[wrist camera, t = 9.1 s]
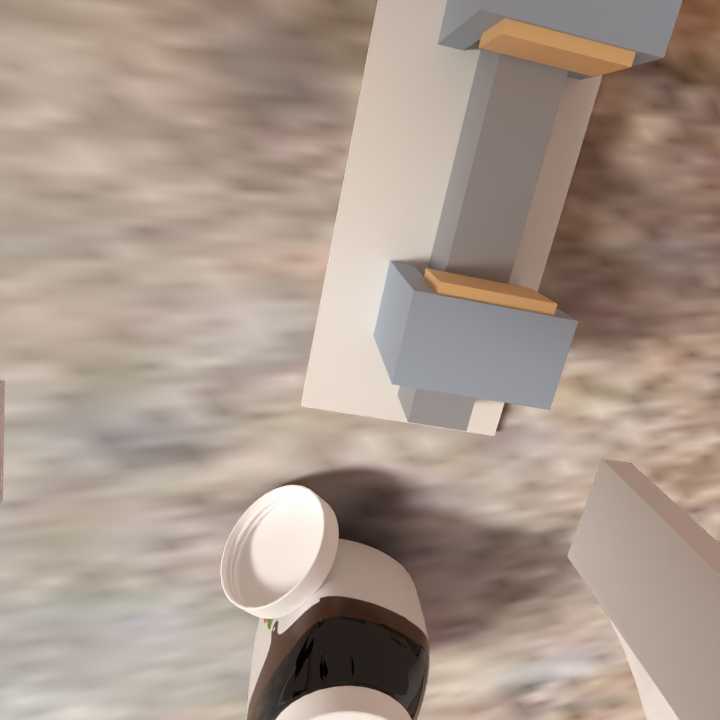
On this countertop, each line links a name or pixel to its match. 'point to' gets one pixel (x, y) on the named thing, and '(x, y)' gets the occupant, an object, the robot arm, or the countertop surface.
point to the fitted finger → (565, 31)
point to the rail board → (439, 198)
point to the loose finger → (471, 336)
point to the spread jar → (324, 616)
